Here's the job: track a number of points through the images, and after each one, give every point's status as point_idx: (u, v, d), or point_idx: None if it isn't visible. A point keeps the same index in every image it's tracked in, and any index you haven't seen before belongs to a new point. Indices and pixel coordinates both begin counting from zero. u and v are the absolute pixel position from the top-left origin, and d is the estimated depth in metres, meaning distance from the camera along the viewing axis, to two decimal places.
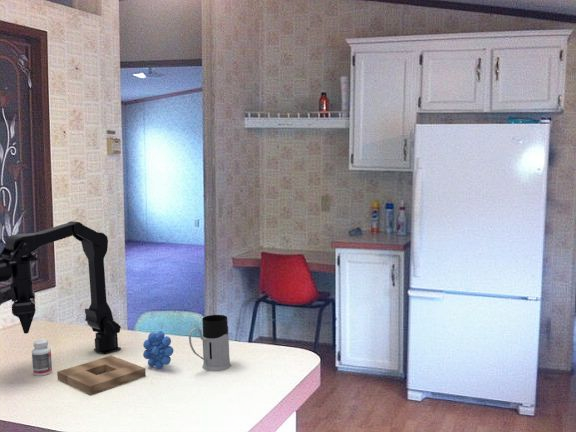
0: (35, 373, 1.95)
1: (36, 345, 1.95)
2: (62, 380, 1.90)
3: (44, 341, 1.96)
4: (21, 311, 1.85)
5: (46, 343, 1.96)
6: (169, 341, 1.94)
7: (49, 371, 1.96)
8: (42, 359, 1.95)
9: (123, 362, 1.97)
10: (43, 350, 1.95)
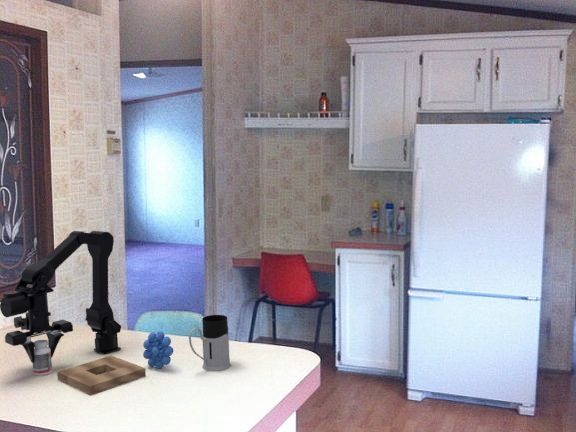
0: (35, 373, 1.95)
1: (36, 344, 1.94)
2: (62, 380, 1.90)
3: (44, 341, 1.96)
4: (8, 342, 1.90)
5: (46, 343, 1.96)
6: (169, 341, 1.94)
7: (49, 371, 1.96)
8: (42, 359, 1.95)
9: (123, 362, 1.97)
10: (43, 350, 1.95)
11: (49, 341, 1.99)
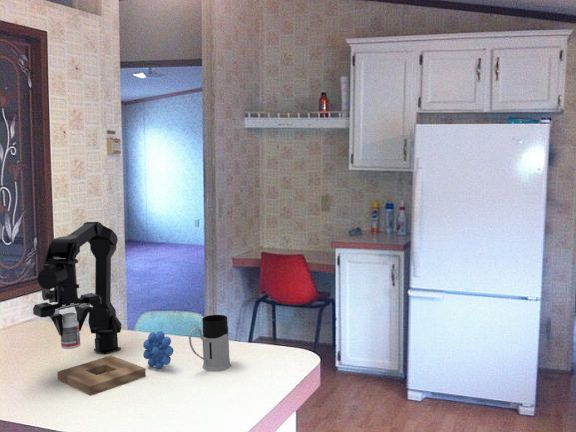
0: (63, 346, 1.91)
1: (65, 317, 1.90)
2: (62, 380, 1.90)
3: (72, 314, 1.92)
4: (36, 313, 1.86)
5: (74, 316, 1.92)
6: (169, 341, 1.94)
7: (77, 345, 1.92)
8: (71, 332, 1.90)
9: (123, 362, 1.97)
10: (71, 323, 1.91)
11: (77, 314, 1.95)
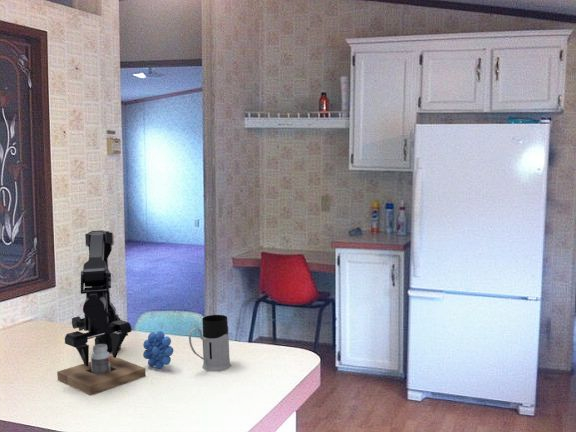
0: None
1: (96, 349, 1.89)
2: (62, 380, 1.90)
3: (104, 345, 1.91)
4: (68, 343, 1.84)
5: (106, 347, 1.90)
6: (169, 341, 1.94)
7: None
8: (102, 364, 1.89)
9: (123, 362, 1.97)
10: (103, 355, 1.89)
11: (113, 341, 1.95)
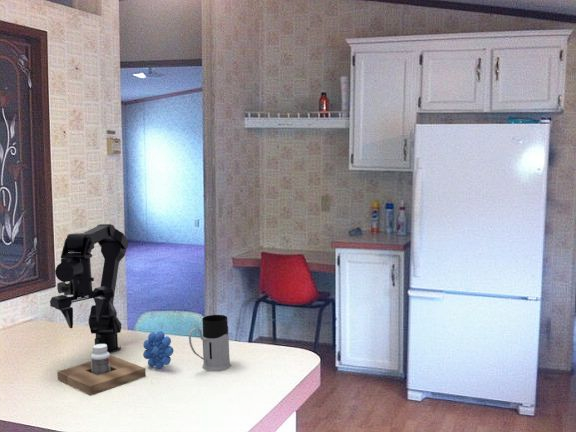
0: None
1: (96, 349, 1.89)
2: (62, 380, 1.90)
3: (103, 345, 1.91)
4: (53, 305, 1.94)
5: (106, 347, 1.90)
6: (169, 341, 1.94)
7: None
8: (102, 364, 1.89)
9: (123, 362, 1.97)
10: (103, 355, 1.89)
11: (96, 305, 2.05)
